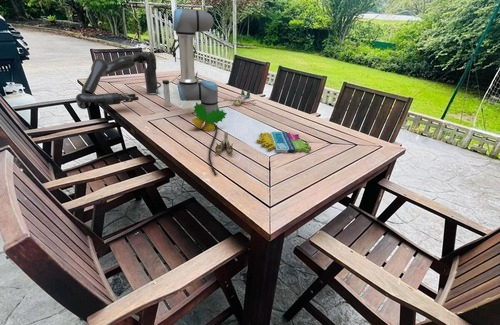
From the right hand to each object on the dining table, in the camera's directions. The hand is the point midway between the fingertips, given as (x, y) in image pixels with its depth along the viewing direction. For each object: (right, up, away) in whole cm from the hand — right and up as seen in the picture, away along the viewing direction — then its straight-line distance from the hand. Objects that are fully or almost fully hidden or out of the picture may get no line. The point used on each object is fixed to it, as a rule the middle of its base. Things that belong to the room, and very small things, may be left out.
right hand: (184, 61), depth 211 cm
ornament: (+28, -60, -47) cm, 81 cm away
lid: (-8, -22, -21) cm, 32 cm away
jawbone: (+40, -76, -73) cm, 112 cm away
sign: (+72, -70, -59) cm, 117 cm away
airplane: (-4, -6, +46) cm, 47 cm away
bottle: (-9, -38, -12) cm, 41 cm away
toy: (+46, -30, +10) cm, 56 cm away
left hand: (-26, -35, -28) cm, 52 cm away
